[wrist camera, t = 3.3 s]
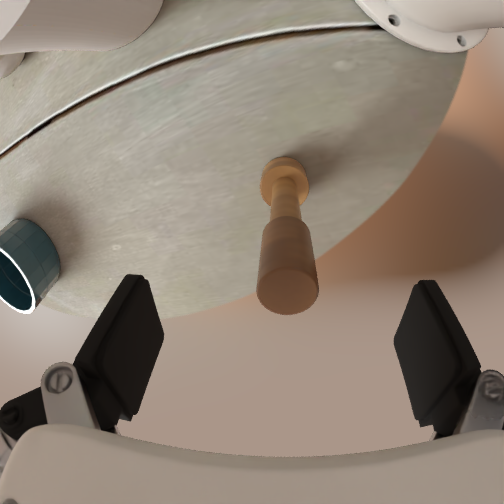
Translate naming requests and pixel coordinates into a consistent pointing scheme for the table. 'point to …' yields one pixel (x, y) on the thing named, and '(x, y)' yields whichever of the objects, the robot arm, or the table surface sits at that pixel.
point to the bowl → (26, 265)
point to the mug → (9, 63)
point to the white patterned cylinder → (73, 24)
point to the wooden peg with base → (286, 241)
